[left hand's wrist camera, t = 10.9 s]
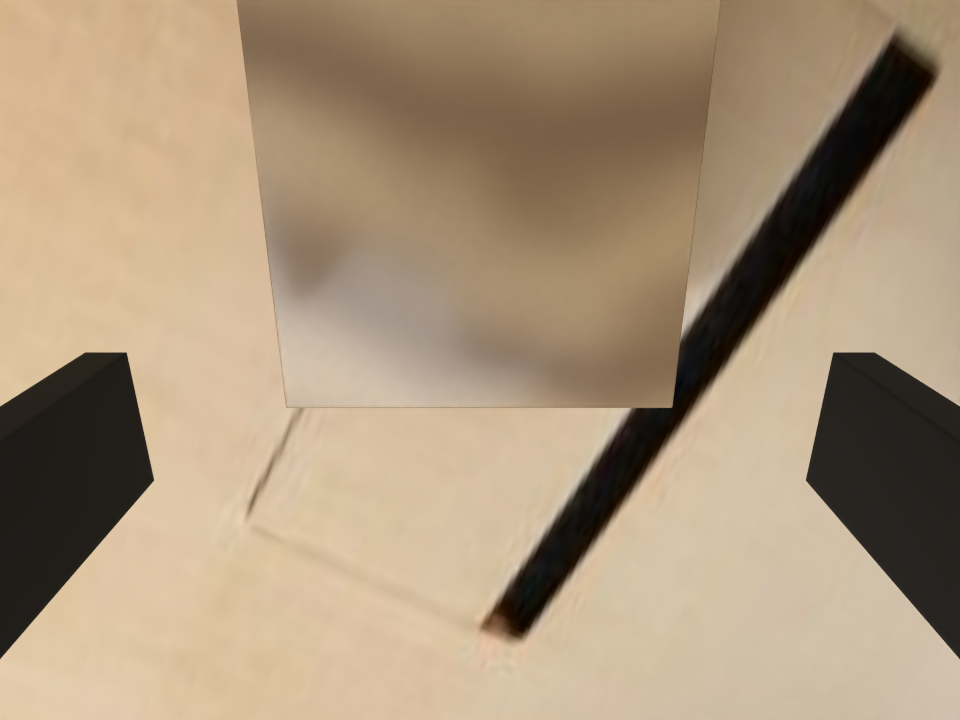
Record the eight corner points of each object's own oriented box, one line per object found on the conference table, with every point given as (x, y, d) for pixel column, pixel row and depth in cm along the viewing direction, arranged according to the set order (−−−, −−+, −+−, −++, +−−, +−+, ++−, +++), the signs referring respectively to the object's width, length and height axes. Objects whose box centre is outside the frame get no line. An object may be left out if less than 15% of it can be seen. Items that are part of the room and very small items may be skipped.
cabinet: (306, -191, 21) (188, -392, 13) (651, -191, 21) (769, -393, 13) (346, 312, 28) (285, 408, 19) (612, 312, 28) (672, 408, 19)
